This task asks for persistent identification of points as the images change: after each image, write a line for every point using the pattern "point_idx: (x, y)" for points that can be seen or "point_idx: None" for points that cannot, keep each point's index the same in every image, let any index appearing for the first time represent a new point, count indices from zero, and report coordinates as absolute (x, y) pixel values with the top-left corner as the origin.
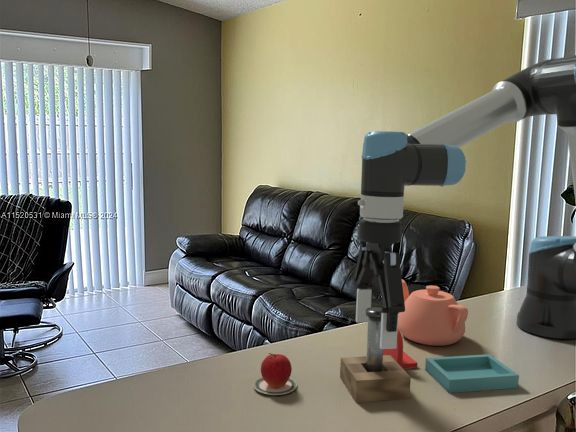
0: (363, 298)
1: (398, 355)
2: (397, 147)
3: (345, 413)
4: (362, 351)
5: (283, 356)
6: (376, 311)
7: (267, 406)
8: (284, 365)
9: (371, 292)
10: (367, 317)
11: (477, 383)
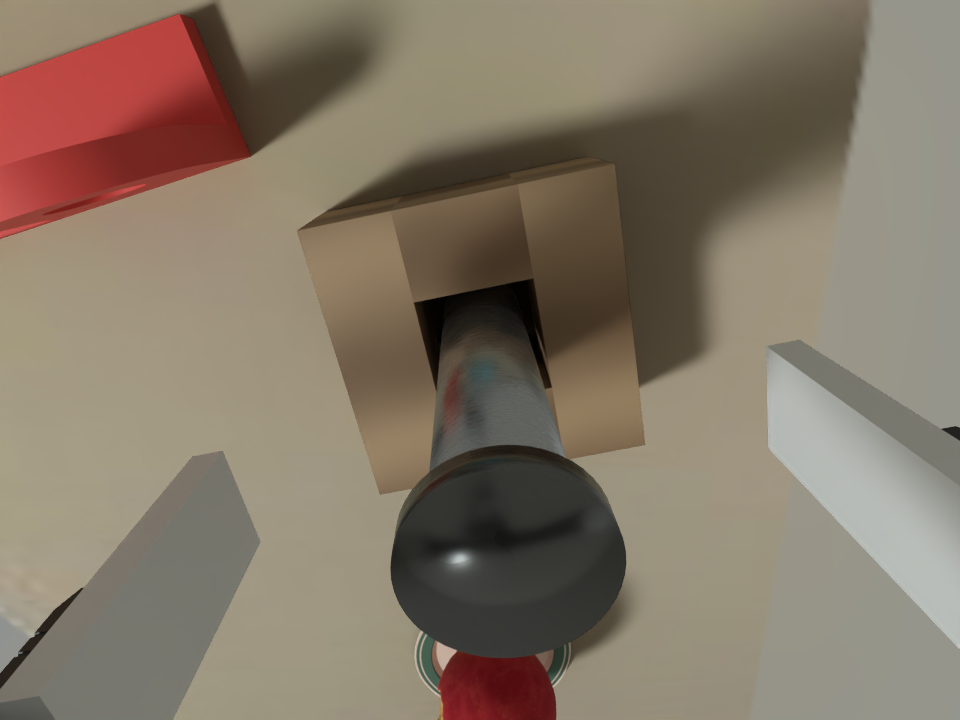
0: (149, 671)
1: (217, 155)
2: None
3: (701, 439)
4: (41, 312)
5: None
6: (539, 576)
7: (634, 658)
8: (539, 712)
9: (68, 663)
10: (216, 494)
11: None
